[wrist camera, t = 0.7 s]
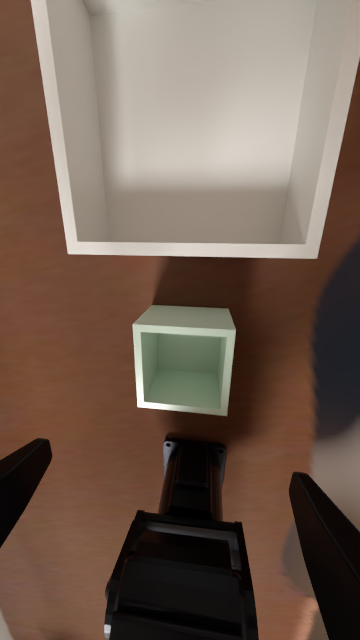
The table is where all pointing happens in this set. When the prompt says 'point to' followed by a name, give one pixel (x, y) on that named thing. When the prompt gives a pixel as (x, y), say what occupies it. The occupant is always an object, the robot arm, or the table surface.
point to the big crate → (196, 121)
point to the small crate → (184, 358)
